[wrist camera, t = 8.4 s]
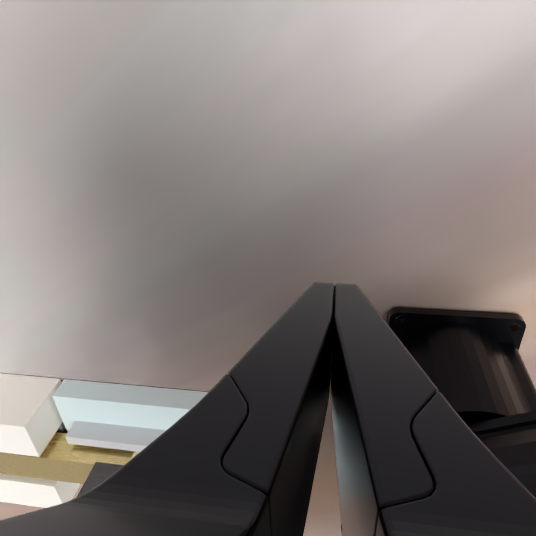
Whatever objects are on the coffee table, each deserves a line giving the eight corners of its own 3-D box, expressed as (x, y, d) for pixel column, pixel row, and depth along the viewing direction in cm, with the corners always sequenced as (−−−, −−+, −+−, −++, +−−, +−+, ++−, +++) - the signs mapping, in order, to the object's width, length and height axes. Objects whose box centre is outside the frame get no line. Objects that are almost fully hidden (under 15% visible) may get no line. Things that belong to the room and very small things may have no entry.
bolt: (138, 438, 30) (107, 503, 26) (146, 466, 31) (118, 531, 27) (3, 423, 31) (-45, 483, 27) (17, 450, 33) (-26, 510, 29)
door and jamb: (298, 400, 28) (291, 456, 25) (299, 485, 33) (294, 542, 29) (-18, 371, 31) (-62, 417, 28) (24, 452, 36) (-9, 500, 33)
